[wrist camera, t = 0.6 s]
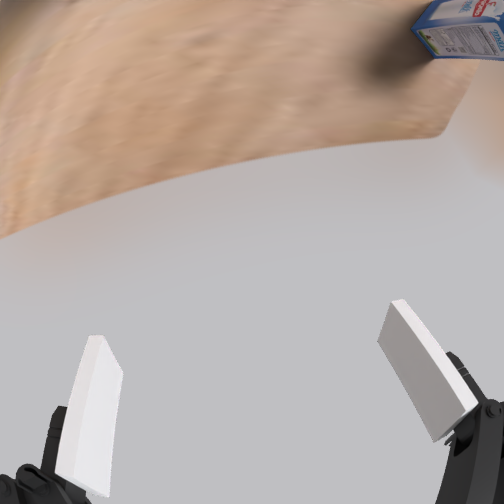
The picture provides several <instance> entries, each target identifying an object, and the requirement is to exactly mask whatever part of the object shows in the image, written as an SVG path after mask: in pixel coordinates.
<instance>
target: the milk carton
mask: <svg viewBox="0 0 504 504" xmlns="http://www.w3.org/2000/svg"><path fill="white" fill-rule="evenodd" d="M411 30H412V31H413V33H414V34H415V35H416V36H417V37H418V38H419V40H420V41H421V42H422V43H423V44H424V46H425V47H426V48H427V49H428V51H429V52H430V53H431V54H432V56H433V57H434V58H435V59H441V58H461V59H485V60H498V61H504V0H434V1H433V2H432V3H431V4H430V5H429V7H428V8H427V9H426V10H425V12H424V13H423V14H422V15H421V17H420V18H419V19H418V20H417V22H416V23H415V24H414V25H413V27H412V28H411Z"/></svg>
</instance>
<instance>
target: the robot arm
mask: <svg viewBox="0 0 504 504" xmlns="http://www.w3.org/2000/svg"><path fill="white" fill-rule="evenodd" d="M377 342H378V343H379V345H380V347H381V348H382V350H383V352H384V353H385V355H386V357H387V358H388V360H389V362H390V363H391V365H392V367H393V368H394V370H395V372H396V374H397V375H398V377H399V379H400V380H401V382H402V384H403V386H404V387H405V390H406V391H407V393H408V395H409V397H410V399H411V400H412V402H413V404H414V406H415V408H416V410H417V411H418V413H419V415H420V417H421V419H422V421H423V423H424V424H425V426H426V428H427V430H428V432H429V434H430V436H431V438H432V440H433V442H436V441H437V440H440V439H441V438H443V437H445V436H447V435H448V434H449V433H450V432H451V431H452V430H454V432H455V433H454V434H453V435H451V436H450V437H449V438H448V439H447V441H446V442H445V444H444V445H447V444H448V443H449V442H451V441H452V442H451V443H450V445H449V446H451V447H450V451H449V456H448V461H447V465H446V469H445V473H444V476H443V480H442V484H441V487H440V491H439V494H438V497H437V500H436V503H435V504H504V402H500V403H499V402H498V401H496V400H494V399H489V400H488V399H487V398H486V397H485V395H484V394H483V393H482V391H481V389H480V388H479V386H478V385H477V384H476V382H475V381H474V379H473V378H472V377H471V375H470V374H469V372H468V370H467V369H466V368H464V365H463V363H462V362H461V361H460V359H459V358H458V357H457V356H455V355H454V354H452V353H451V352H447V353H445V352H444V351H443V350H442V348H441V347H440V346H439V344H438V343H437V342H436V340H435V339H434V337H433V336H432V335H431V334H430V332H429V331H428V330H427V328H426V327H425V326H424V324H423V323H422V322H421V321H420V319H419V318H418V317H417V315H416V314H415V313H414V312H413V311H412V309H411V308H410V307H409V305H408V304H407V303H406V302H405V300H404V299H401V300H396V301H391V303H390V306H389V309H388V312H387V315H386V319H385V321H384V324H383V327H382V330H381V332H380V336H379V338H378V341H377ZM122 379H123V372H122V370H121V368H120V366H119V364H118V362H117V361H116V359H115V357H114V355H113V353H112V351H111V349H110V347H109V345H108V343H107V341H106V339H105V337H104V335H89V337H88V340H87V343H86V346H85V349H84V352H83V355H82V358H81V362H80V365H79V368H78V371H77V375H76V378H75V382H74V385H73V389H72V392H71V396H70V400H69V404H68V407H64V406H58V407H57V409H56V410H55V412H54V413H53V415H52V418H51V422H50V428H49V430H48V434H47V435H48V437H47V439H46V444H45V448H44V454H43V459H42V464H41V468H40V469H38V468H37V467H35V466H34V465H32V464H24V465H22V466H21V467H19V469H18V470H17V473H16V479H12V478H10V477H9V476H7V475H4V474H1V475H0V504H91V502H90V501H89V499H87V497H86V491H87V492H89V493H91V494H93V495H97V496H103V497H110V479H111V464H112V451H113V443H114V433H115V425H116V417H117V410H118V403H119V397H120V390H121V384H122Z"/></svg>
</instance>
